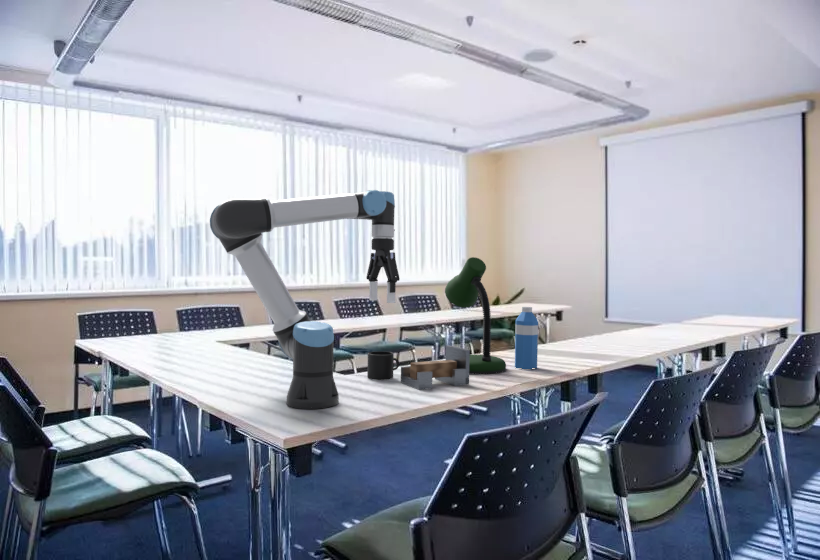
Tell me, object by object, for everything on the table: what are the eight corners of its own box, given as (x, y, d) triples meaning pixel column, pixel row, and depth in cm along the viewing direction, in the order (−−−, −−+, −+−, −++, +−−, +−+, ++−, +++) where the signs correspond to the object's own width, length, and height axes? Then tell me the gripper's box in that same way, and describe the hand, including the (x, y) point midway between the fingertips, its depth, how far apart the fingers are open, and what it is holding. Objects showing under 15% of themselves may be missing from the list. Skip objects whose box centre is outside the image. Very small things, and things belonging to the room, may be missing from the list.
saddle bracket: (419, 389, 184) (419, 373, 184) (400, 382, 195) (400, 366, 195) (432, 388, 186) (432, 372, 186) (413, 381, 198) (413, 365, 198)
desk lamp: (430, 362, 237) (432, 257, 236) (476, 360, 246) (478, 258, 245) (465, 376, 209) (467, 256, 208) (516, 372, 218) (518, 257, 217)
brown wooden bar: (416, 379, 189) (416, 364, 189) (410, 376, 193) (410, 362, 193) (456, 375, 196) (456, 361, 196) (449, 373, 200) (450, 359, 200)
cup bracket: (454, 386, 191) (455, 351, 191) (434, 379, 202) (435, 346, 202) (469, 384, 194) (469, 350, 194) (448, 377, 205) (449, 345, 205)
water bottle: (510, 366, 232) (511, 306, 231) (530, 365, 234) (531, 306, 234) (521, 370, 223) (522, 307, 222) (541, 369, 226) (543, 307, 225)
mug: (403, 378, 202) (404, 354, 202) (372, 381, 197) (372, 355, 197) (394, 374, 211) (394, 350, 210) (364, 376, 206) (364, 351, 206)
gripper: (410, 237, 178) (409, 303, 178) (376, 240, 200) (376, 299, 200) (389, 236, 174) (388, 304, 174) (357, 239, 196) (356, 299, 196)
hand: (381, 301), depth 187 cm, fingers open, 13 cm apart
